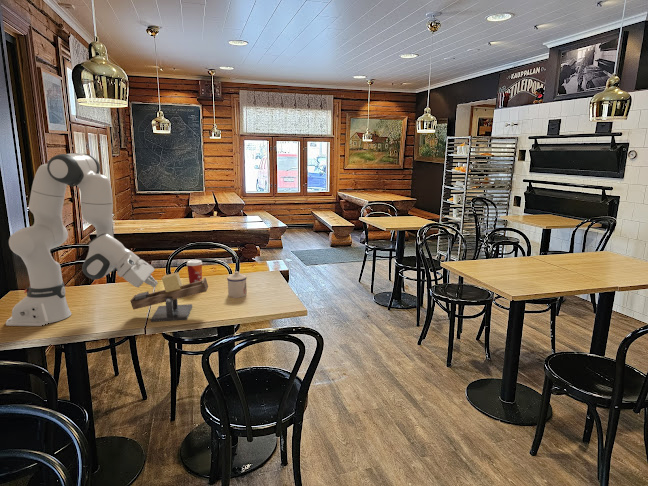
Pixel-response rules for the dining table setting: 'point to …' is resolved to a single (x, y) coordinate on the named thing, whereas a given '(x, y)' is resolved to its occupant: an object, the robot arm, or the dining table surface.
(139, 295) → the counterweight
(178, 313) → the stand
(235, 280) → the teacup with lid
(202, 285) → the beam
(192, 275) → the paper cup
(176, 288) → the rider
